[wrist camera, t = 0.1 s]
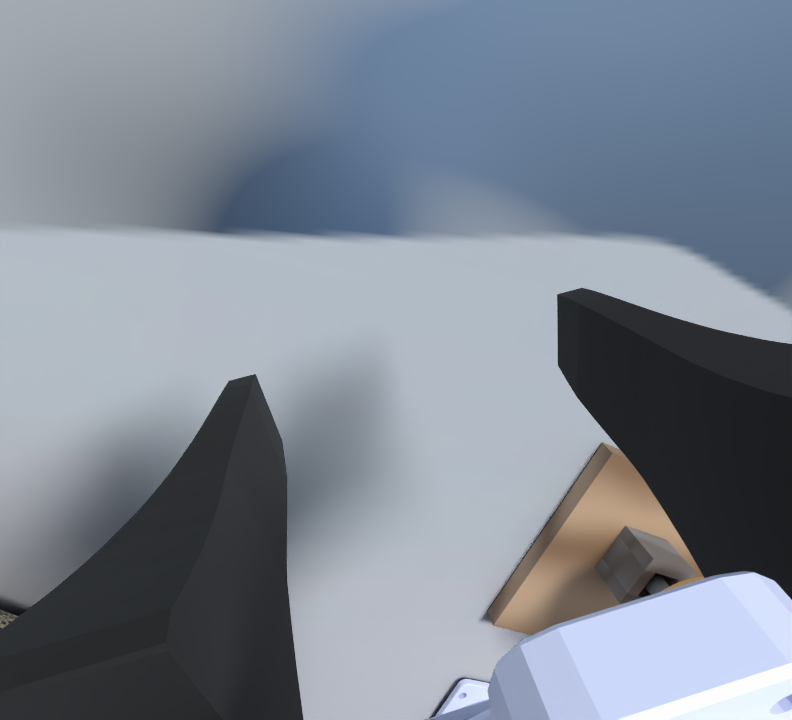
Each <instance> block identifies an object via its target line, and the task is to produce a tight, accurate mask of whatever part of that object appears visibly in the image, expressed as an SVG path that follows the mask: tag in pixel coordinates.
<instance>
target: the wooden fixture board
mask: <svg viewBox="0 0 792 720" xmlns="http://www.w3.org/2000/svg"><path fill="white" fill-rule="evenodd" d="M655 576H661V577H662V578H663V579H664V580H665V581H666V583H667V584H668V585H669V586H672V585H674V584H676V583H678V582H681V581H684V580H687V579H691V578H695V577H704V576H703V575H702V573H701V571H700V569H699V568H698V566H697V564H696V562H695V561H694V559H693V557H692V555H691V554H690V552H689V550H688V548H687V547H686V545H685V544H684V542H683V540H682V539H681V537H680V535H679V534H678V532H677V531H676V529H675V527H674V526H673V524H672V522H671V521H670V519H669V518H668V516H667V514H666V513H665V511H664V510H663V508H662V507H661V505H660V504H659V502H658V501H657V499H656V497H655V496H654V494H653V493H652V491H651V490H650V488H649V487H648V485H647V484H646V482H645V481H644V479H643V478H642V476H641V475H640V474H639V472H638V471H637V470H636V469H635V467H634V466H633V465H632V463H631V462H630V461H629V460H628V458H627V457H626V456H625V455H624V454H623V452H622V451H621V450H619V449H617V448H614V447H612V446H609V445H607V444H604V443H602V444H601V445H600V447H599V448H598V450H597V451H596V453H595V454H594V456H593V457H592V459H591V460H590V462H589V463H588V465H587V466H586V467H585V469H584V470H583V472H582V473H581V475H580V476H579V478H578V479H577V481H576V482H575V484H574V485H573V487H572V488H571V489H570V491H569V492H568V494H567V495H566V497H565V498H564V500H563V501H562V503H561V504H560V506H559V507H558V509H557V510H556V511H555V513H554V514H553V516H552V517H551V519H550V520H549V522H548V523H547V525H546V526H545V528H544V529H543V531H542V532H541V533H540V535H539V536H538V538H537V539H536V541H535V542H534V544H533V545H532V547H531V548H530V550H529V551H528V553H527V554H526V555H525V557H524V558H523V560H522V561H521V563H520V564H519V566H518V567H517V569H516V570H515V572H514V573H513V575H512V576H511V578H510V579H509V580H508V582H507V583H506V585H505V586H504V588H503V589H502V591H501V592H500V594H499V595H498V597H497V598H496V600H495V601H494V602H493V604H492V605H491V607H490V608H489V610H488V614H489V616H490V619H491V621H492V624H493V626H497V627H501V628H505V629H509V630H513V631H518V632H522V633H526V634H530V635H534V634H536V633H538V632H540V631H542V630H545V629H547V628H549V627H551V626H553V625H556V624H559V623H562V622H566V621H569V620H572V619H575V618H578V617H582V616H585V615H588V614H591V613H595V612H598V611H601V610H604V609H607V608H611V607H614V606H617V605H620V604H624V603H627V602H630V601H633V600H636V599H640V598H643V597H646V596H649V595H651V594H650V593H649V592H648V590H647V589H646V585H647V583H648V582H649V581H650V579H651V578H652V577H655Z"/></svg>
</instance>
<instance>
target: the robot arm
mask: <svg viewBox="0 0 792 720" xmlns="http://www.w3.org/2000/svg"><path fill="white" fill-rule="evenodd" d="M557 303H558V366H559V368H560V369H561V371H562V373H563V375H564V376H565V378H566V380H567V382H568V383H569V385H570V386H571V388H572V390H573V391H574V393H575V394H576V396H577V398H578V399H579V400H580V401H581V403H582V404H583V405H584V406H585V408H586V409H587V410H588V411H589V412H590V414H591V415H592V416H593V417H594V419H595V420H596V421H597V422H598V424H599V425H600V426H601V427H602V428H603V430H604V431H605V432H606V433H607V434H608V436H609V437H610V438H611V439H612V440H613V442H614V443H615V444H616V445H617V446H618V448H619V449H620V450H621V451H622V452H623V454H624V455H625V456H626V457H627V458H628V460H629V461H630V462H631V463H632V465H633V466H634V467H635V469H636V470H637V471H638V472H639V474H640V475H641V476H642V478H643V479H644V481H645V482H646V484H647V485H648V487H649V488H650V490H651V491H652V493H653V494H654V496H655V497H656V499H657V501H658V502H659V504H660V505H661V507H662V508H663V510H664V511H665V513H666V514H667V516H668V518H669V519H670V521H671V522H672V524H673V526H674V527H675V529H676V531H677V532H678V534H679V535H680V537H681V539H682V540H683V542H684V544H685V545H686V547H687V548H688V550H689V552H690V554H691V555H692V557H693V559H694V561H695V562H696V564H697V566H698V568H699V569H700V571H701V573H702V575H703V576H704V579H701V580H698V581H694V582H691V583H688V584H685V585H682V586H678V587H675V588H672V589H669V590H665V591H662V592H659V593H656V594H653V595H649V596H646V597H643V598H640V599H636V600H633V601H630V602H627V603H624V604H620V605H617V606H614V607H611V608H607V609H604V610H601V611H598V612H595V613H591V614H588V615H585V616H582V617H578V618H575V619H572V620H569V621H566V622H562V623H559V624H556V625H553V626H551V627H549V628H547V629H545V630H542V631H540V632H538V633H536V634H534V635H532V636H530V637H527V638H525V639H523V640H521V641H520V642H519V643H518V644H517V645H515V646H514V647H513V648H512V649H511V650H510V651H509V652H508V653H507V654H505V655H504V656H503V657H502V658H501V659H500V660H499V661H498V662H497V664H496V666H495V668H494V671H493V674H492V677H491V681H490V683H486V682H481V681H476V680H471V679H463V680H461V681H460V682H459V683H458V684H457V685H456V687H455V688H454V690H453V691H452V693H451V694H450V695H449V697H448V698H447V700H446V701H445V703H444V704H443V706H442V707H441V708H440V710H439V711H438V713H437V714H436V716H435V717H432V718H429V719H426V720H792V344H787V343H780V342H774V341H768V340H762V339H757V338H752V337H747V336H743V335H738V334H733V333H728V332H724V331H720V330H716V329H712V328H708V327H704V326H701V325H697V324H694V323H690V322H687V321H683V320H680V319H677V318H673V317H670V316H667V315H664V314H661V313H658V312H655V311H652V310H649V309H646V308H643V307H640V306H637V305H634V304H631V303H628V302H625V301H623V300H620V299H617V298H614V297H611V296H608V295H605V294H602V293H599V292H596V291H592V290H588V289H584V288H580V289H576V290H572V291H569V292H565V293H561V294H557ZM286 563H287V474H286V466H285V458H284V451H283V444H282V439H281V437H280V434H279V432H278V429H277V427H276V424H275V422H274V419H273V417H272V414H271V412H270V409H269V407H268V404H267V402H266V399H265V397H264V394H263V392H262V389H261V387H260V384H259V382H258V379H257V377H256V374H254V375H250V376H246V377H243V378H239V379H235V380H231V381H229V382H228V383H227V385H226V387H225V388H224V390H223V391H222V393H221V395H220V396H219V398H218V400H217V401H216V403H215V405H214V407H213V408H212V410H211V412H210V413H209V415H208V417H207V418H206V420H205V422H204V423H203V425H202V427H201V428H200V430H199V431H198V433H197V435H196V436H195V438H194V439H193V441H192V443H191V444H190V445H189V447H188V448H187V450H186V451H185V453H184V454H183V455H182V457H181V458H180V460H179V461H178V463H177V464H176V465H175V467H174V468H173V470H172V471H171V472H170V474H169V475H168V476H167V478H166V479H165V480H164V481H163V483H162V484H161V485H160V486H159V488H158V489H157V490H156V491H155V492H154V493H153V495H152V496H151V497H150V498H149V499H148V500H147V502H146V503H145V504H144V505H143V506H142V507H141V508H140V510H139V511H138V512H137V513H136V514H135V515H134V516H133V517H132V518H131V519H130V520H129V521H128V522H127V523H126V524H125V525H124V526H123V527H122V528H121V529H120V530H119V531H118V532H117V533H116V534H115V535H114V536H113V537H112V538H111V539H110V540H109V541H108V542H107V543H106V544H105V545H104V546H103V547H102V548H101V549H100V550H99V551H98V552H97V553H96V554H94V555H93V556H92V557H91V558H90V559H89V560H88V561H87V562H86V563H84V564H83V565H82V566H81V567H80V568H79V569H78V570H76V571H75V572H74V573H73V574H72V575H71V576H69V577H68V578H67V579H66V580H65V581H63V582H62V583H61V584H60V585H59V586H57V587H56V588H55V589H54V590H53V591H51V592H50V593H49V594H48V595H46V596H45V597H44V598H42V599H41V600H40V601H38V602H37V603H36V604H35V605H33V606H32V607H31V608H29V609H28V610H27V611H25V612H24V613H23V614H21V615H20V616H19V617H17V618H16V619H15V620H13V621H12V622H11V623H9V624H8V625H7V626H5V627H4V628H3V629H1V630H0V720H303V714H302V706H301V699H300V691H299V683H298V676H297V668H296V660H295V651H294V642H293V634H292V625H291V615H290V605H289V595H288V586H287V564H286Z"/></svg>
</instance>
